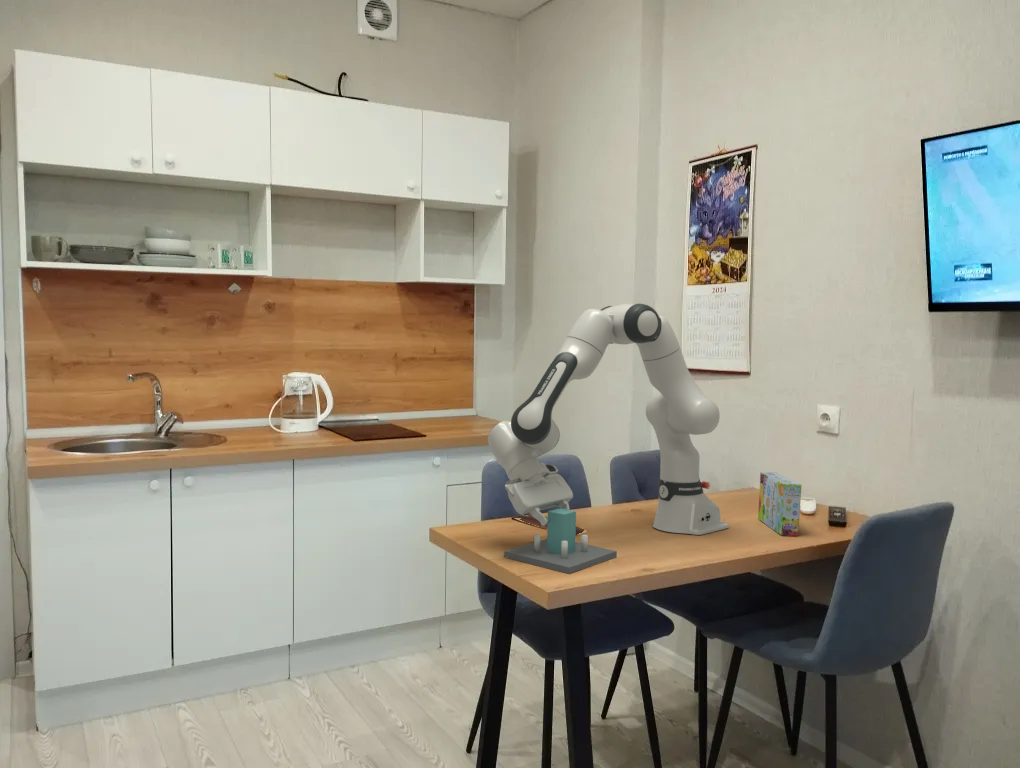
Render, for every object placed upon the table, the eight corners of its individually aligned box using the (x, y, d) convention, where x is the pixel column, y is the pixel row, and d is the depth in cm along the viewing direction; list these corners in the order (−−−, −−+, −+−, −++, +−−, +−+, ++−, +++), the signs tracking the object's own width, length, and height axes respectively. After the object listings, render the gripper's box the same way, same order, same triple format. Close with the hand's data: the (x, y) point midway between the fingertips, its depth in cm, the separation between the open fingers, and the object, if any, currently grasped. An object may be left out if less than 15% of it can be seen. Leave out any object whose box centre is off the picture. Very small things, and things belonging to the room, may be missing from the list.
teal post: (559, 547, 199) (560, 508, 199) (575, 551, 196) (576, 511, 196) (547, 551, 196) (547, 511, 195) (563, 554, 192) (564, 514, 192)
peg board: (552, 542, 210) (553, 522, 210) (616, 556, 197) (617, 535, 197) (503, 557, 195) (504, 535, 194) (569, 573, 182) (570, 550, 182)
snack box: (800, 536, 222) (802, 484, 221) (780, 536, 222) (782, 483, 221) (774, 519, 243) (776, 471, 242) (756, 519, 243) (758, 471, 242)
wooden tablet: (594, 528, 222) (569, 529, 216) (594, 536, 222) (568, 537, 216) (534, 512, 243) (509, 512, 237) (533, 519, 243) (508, 519, 237)
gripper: (509, 474, 192) (539, 520, 186) (559, 465, 208) (588, 507, 202) (495, 489, 195) (524, 535, 190) (545, 479, 211) (574, 521, 205)
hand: (558, 520), depth 196 cm, fingers open, 8 cm apart
